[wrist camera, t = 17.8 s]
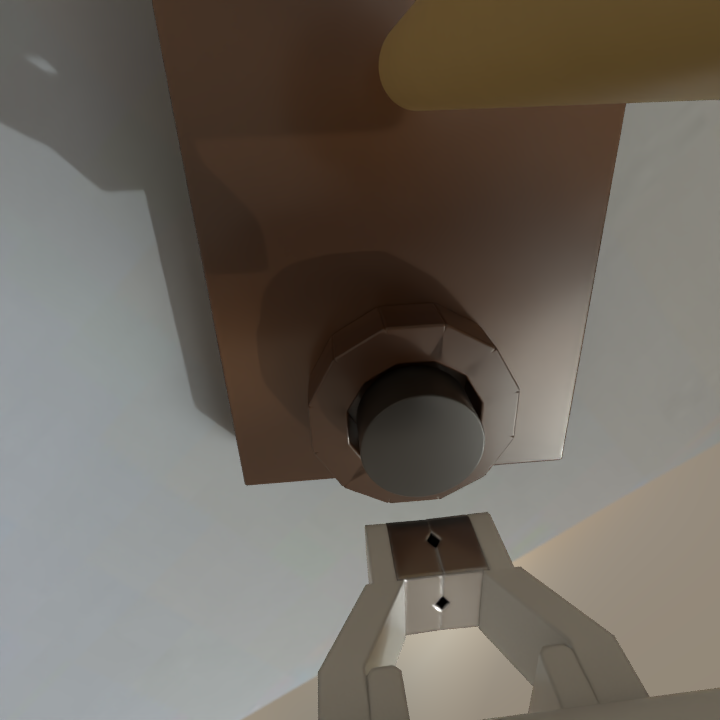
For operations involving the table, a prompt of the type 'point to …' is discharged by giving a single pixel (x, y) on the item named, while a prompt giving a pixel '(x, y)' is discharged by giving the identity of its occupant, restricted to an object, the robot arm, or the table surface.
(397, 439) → the button
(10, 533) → the table surface
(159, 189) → the table surface
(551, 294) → the lamp base
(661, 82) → the lamp
